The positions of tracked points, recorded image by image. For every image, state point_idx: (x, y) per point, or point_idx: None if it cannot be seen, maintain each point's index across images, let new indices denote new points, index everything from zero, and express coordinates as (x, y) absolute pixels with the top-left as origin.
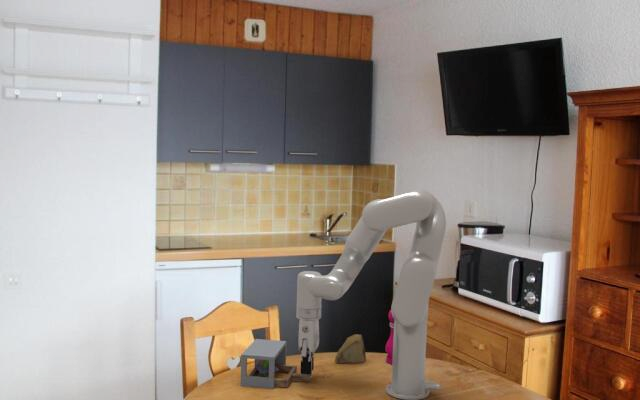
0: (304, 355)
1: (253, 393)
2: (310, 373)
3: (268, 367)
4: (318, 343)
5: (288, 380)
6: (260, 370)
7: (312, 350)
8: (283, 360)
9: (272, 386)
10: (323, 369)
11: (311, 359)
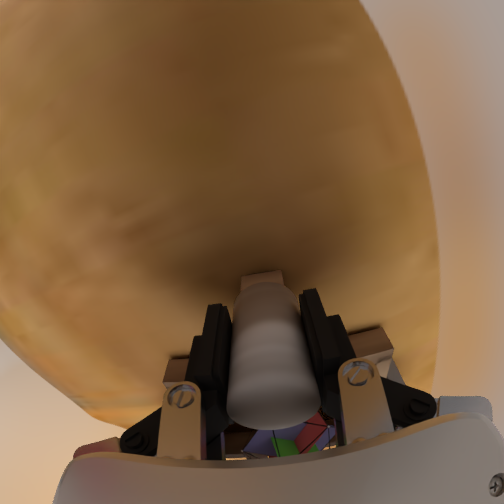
0: (486, 409)
1: (427, 375)
2: (315, 292)
3: (299, 441)
4: (107, 480)
5: (371, 349)
6: (322, 441)
7: (496, 428)
8: None
9: (394, 366)
10: (57, 267)
11: (285, 375)
